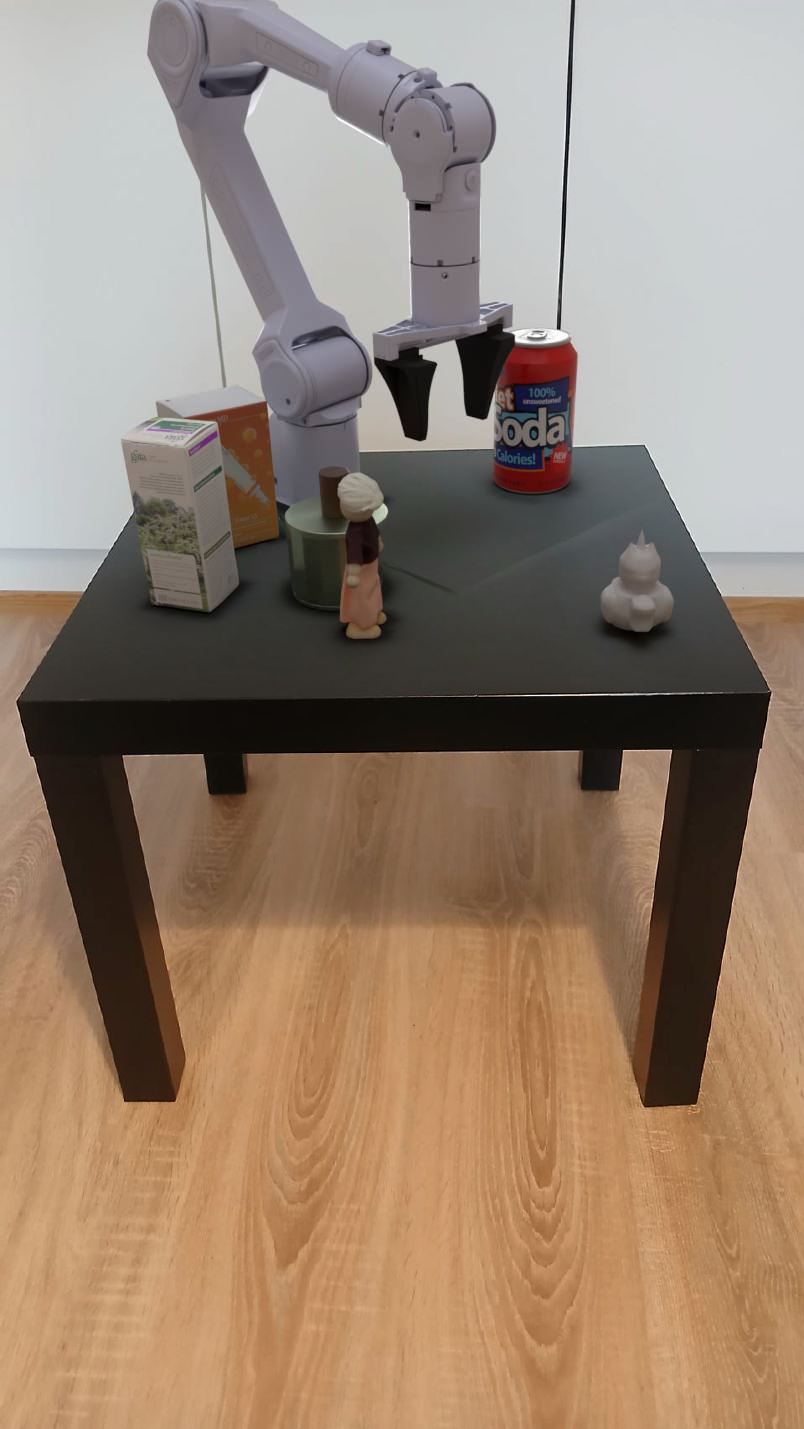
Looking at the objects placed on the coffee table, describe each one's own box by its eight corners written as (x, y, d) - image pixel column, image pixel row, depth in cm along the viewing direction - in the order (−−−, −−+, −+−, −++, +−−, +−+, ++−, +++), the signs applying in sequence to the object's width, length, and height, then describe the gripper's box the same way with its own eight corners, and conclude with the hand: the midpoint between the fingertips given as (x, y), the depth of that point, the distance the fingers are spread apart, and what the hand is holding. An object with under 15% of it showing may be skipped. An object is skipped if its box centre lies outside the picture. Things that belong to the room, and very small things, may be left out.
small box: (202, 559, 95) (182, 417, 88) (174, 537, 100) (153, 399, 93) (282, 537, 99) (268, 398, 92) (251, 516, 103) (236, 382, 96)
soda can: (573, 474, 110) (582, 325, 102) (566, 503, 104) (575, 346, 96) (499, 471, 112) (502, 324, 104) (487, 498, 106) (489, 344, 97)
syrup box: (241, 584, 91) (220, 417, 83) (209, 615, 86) (183, 442, 78) (183, 577, 92) (156, 412, 84) (148, 607, 88) (117, 436, 80)
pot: (274, 590, 90) (267, 520, 86) (342, 563, 94) (338, 494, 90) (332, 620, 85) (326, 546, 81) (401, 589, 89) (398, 518, 86)
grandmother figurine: (344, 606, 87) (334, 457, 80) (391, 606, 87) (385, 456, 80) (336, 653, 80) (325, 495, 73) (386, 653, 80) (380, 494, 73)
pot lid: (271, 517, 88) (266, 464, 86) (364, 499, 91) (361, 447, 88) (307, 554, 82) (302, 498, 79) (405, 533, 85) (403, 478, 82)
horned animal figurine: (661, 609, 85) (672, 516, 80) (677, 650, 79) (690, 552, 75) (593, 610, 85) (601, 517, 81) (605, 651, 79) (613, 553, 75)
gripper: (413, 281, 78) (418, 459, 85) (542, 252, 86) (536, 416, 94) (351, 270, 82) (361, 440, 90) (479, 243, 91) (478, 401, 98)
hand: (446, 427), depth 92 cm, fingers open, 7 cm apart
